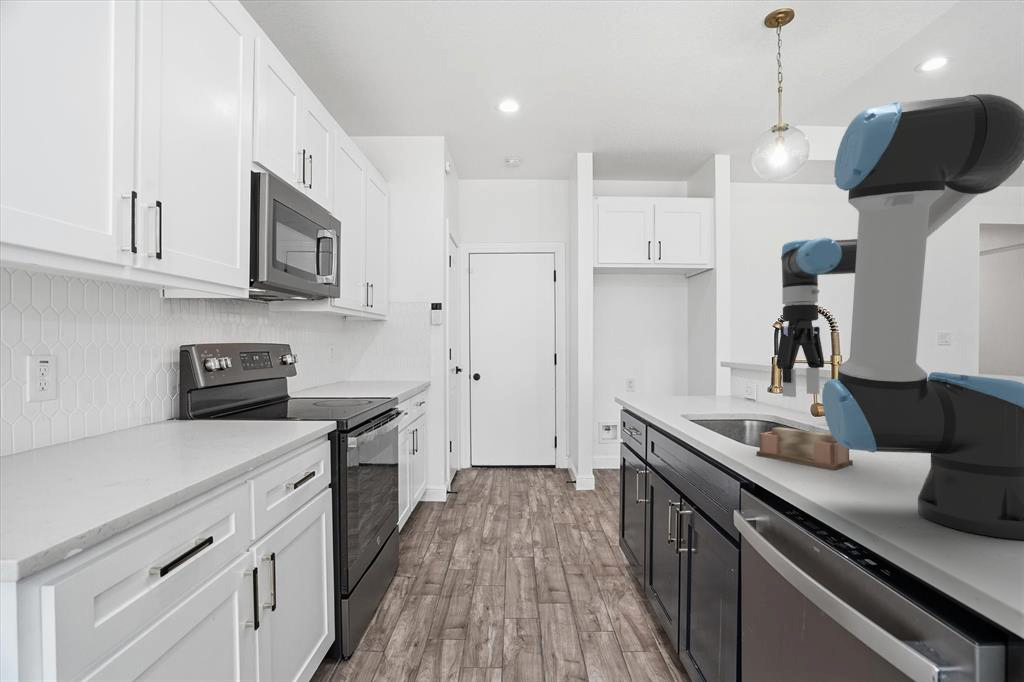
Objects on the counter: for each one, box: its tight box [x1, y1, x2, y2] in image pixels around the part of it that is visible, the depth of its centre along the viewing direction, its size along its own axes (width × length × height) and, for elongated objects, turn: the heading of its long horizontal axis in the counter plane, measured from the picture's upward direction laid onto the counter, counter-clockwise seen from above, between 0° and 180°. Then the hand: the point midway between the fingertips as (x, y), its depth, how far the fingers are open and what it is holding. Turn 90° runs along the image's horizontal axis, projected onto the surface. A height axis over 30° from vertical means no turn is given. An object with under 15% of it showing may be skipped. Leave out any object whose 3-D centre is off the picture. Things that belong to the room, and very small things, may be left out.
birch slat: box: [771, 426, 838, 459], centre depth 118 cm, size 14×3×6 cm, turn 33°
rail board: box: [755, 450, 854, 471], centre depth 119 cm, size 9×18×1 cm, turn 32°
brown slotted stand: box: [758, 430, 850, 465], centre depth 119 cm, size 7×18×4 cm, turn 32°
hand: (801, 395), depth 119 cm, fingers open, 10 cm apart
